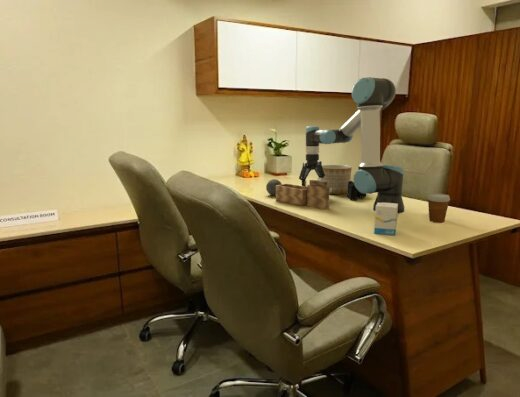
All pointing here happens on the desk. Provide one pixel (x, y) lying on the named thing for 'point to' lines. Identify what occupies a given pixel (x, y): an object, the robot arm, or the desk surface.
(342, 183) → the planter
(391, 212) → the ink box
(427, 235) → the desk surface
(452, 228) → the desk surface
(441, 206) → the disposable coffee cup
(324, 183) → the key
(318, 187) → the brown zigzag organizer box
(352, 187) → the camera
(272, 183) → the decorative ball
